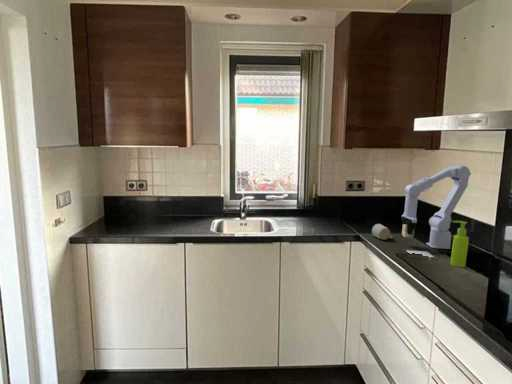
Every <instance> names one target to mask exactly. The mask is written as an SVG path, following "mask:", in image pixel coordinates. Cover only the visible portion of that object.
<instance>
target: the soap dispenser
mask: <svg viewBox="0 0 512 384" xmlns="http://www.w3.org/2000/svg"><path fill="white" fill-rule="evenodd" d="M452 223H457V224H459V223H460V226H459V228H457V232H456V234H455V235H453V237H452V238H453V239H452V245H451V254H450V265H451V266H454V267H456V266H457V268H465V267H466V263H467V256H468V249H469V240H470V237H468V236H467V229H466V227H465V226H466V225H467V224H468V222H467V221H464V220H452Z"/></svg>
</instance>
